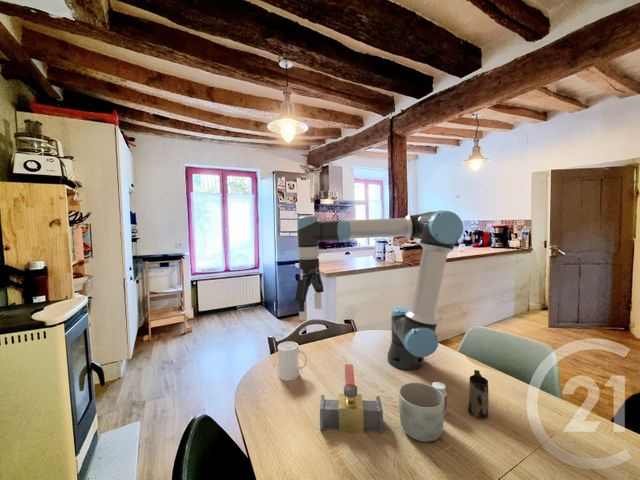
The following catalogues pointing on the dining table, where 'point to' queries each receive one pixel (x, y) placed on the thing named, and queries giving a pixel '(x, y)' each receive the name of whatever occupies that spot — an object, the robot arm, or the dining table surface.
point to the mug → (289, 361)
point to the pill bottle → (442, 389)
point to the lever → (349, 382)
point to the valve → (351, 414)
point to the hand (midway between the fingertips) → (311, 314)
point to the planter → (421, 411)
